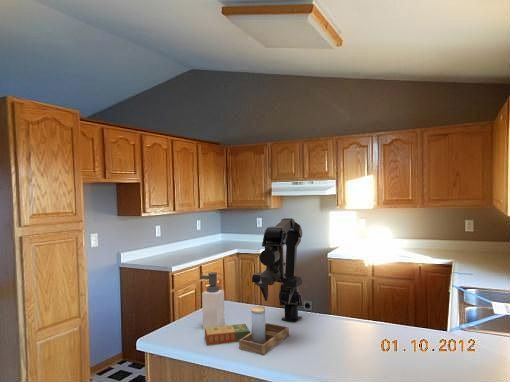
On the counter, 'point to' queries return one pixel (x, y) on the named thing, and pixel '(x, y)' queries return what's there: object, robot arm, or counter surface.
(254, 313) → the jar
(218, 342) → the carton
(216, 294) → the soap dispenser
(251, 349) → the caddy
